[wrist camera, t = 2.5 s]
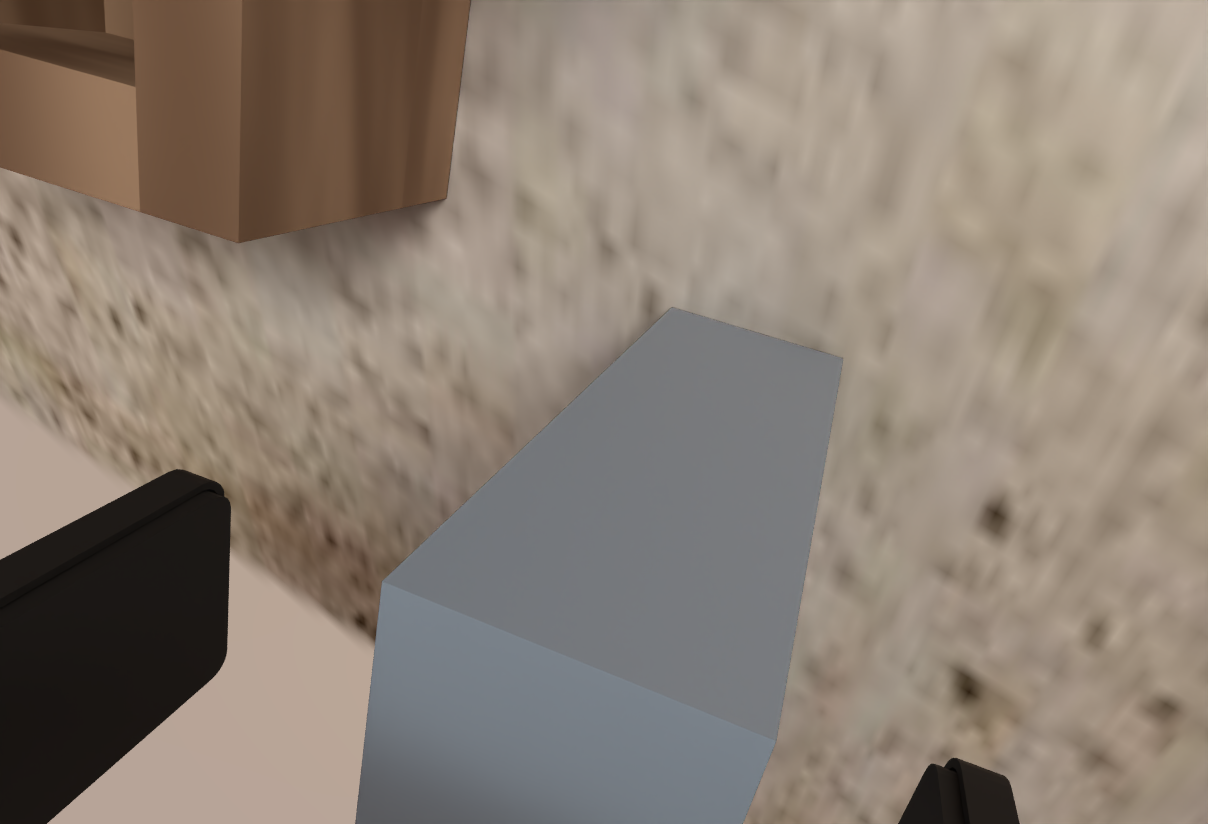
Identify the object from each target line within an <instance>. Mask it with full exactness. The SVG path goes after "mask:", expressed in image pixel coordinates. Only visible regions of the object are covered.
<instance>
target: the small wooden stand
mask: <svg viewBox="0 0 1208 824" xmlns="http://www.w3.org/2000/svg"><path fill="white" fill-rule="evenodd" d="M469 8H470V0H0V167H1V168H4V169H7V170H10V171H13V172H17V173H20V174H23V175H26V176H29V177H32V178H35V179H39V180H42V181H45V182H48V183H51V184H54V185H57V186H61V187H64V188H67V189H70V190H73V191H76V192H79V193H83V194H86V195H89V196H92V197H95V198H98V199H101V200H105V201H108V202H111V203H114V204H117V205H120V206H123V207H127V208H130V209H133V210H136V211H139V212H142V213H145V214H149V215H152V216H155V217H158V218H161V219H164V220H167V221H171V222H174V223H177V224H180V225H183V226H186V227H189V228H193V229H196V230H199V231H202V232H205V233H208V234H211V235H215V236H218V237H221V238H224V239H227V240H230V241H233V242H237V243H241V242H246V241H250V240H255V239H260V238H264V237H269V236H274V235H278V234H283V233H288V232H292V231H297V230H302V229H306V228H311V227H316V226H320V225H325V224H330V223H334V222H339V221H344V220H348V219H353V218H357V217H362V216H367V215H371V214H376V213H381V212H385V211H390V210H395V209H399V208H404V207H409V206H413V205H418V204H423V203H427V202H432V201H437V200H441V199H446V197H447V189H448V180H449V172H450V164H451V156H452V148H453V140H454V131H455V123H456V115H457V107H458V99H459V90H460V82H461V74H462V66H463V58H464V49H465V41H466V33H467V25H468V17H469Z"/></svg>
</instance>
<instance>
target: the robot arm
mask: <svg viewBox="0 0 1208 824" xmlns="http://www.w3.org/2000/svg"><path fill="white" fill-rule="evenodd" d="M230 522H231V506H230V502H229V500H228V499H227V498H225V497H224V490H223V488H222V486H221V485H220V484H218V483H217V482H215V481H212V480H209V479H207V478H204V477H201V476H199V475H196V474H193V473H191V472H188V471H185V470H179V469H176V470H173V471H170V472H168V473H166V474H164V475H162V476H160V477H158V478H156V479H154V480H152V481H151V482H149V483H147V484H145V485H143V486H141V487H139V488H137V489H135V490H133V491H131V492H129V493H128V494H126V495H124V496H122V497H120V498H118V499H116V500H115V501H112V502H111V503H108V504H106V505H105V506H103V507H101V508H99V509H97V510H95V511H93V512H91V513H89V514H87V515H85V516H83V517H82V518H80V519H78V520H76V521H74V522H72V523H70V524H68V525H66V526H64V527H62V528H60V529H59V530H57V531H55V532H53V533H51V534H49V535H47V536H45V537H43V538H41V539H39V540H37V541H35V542H34V543H32V544H30V545H28V546H26V547H24V548H22V549H20V550H18V551H16V552H14V553H12V554H11V555H9V556H7V557H5V558H3V559H1V560H0V824H47V823H48V822H49V821H50V820H51V819H52V818H54V817H55V816H56V815H57V814H58V813H59V812H60V811H62V809H64V808H65V807H66V806H67V805H69V804H70V803H71V802H72V801H73V800H74V799H75V798H76V797H78V796H79V795H80V794H81V793H82V792H83V791H84V790H86V789H87V788H88V787H89V786H90V785H91V784H92V783H94V782H95V781H96V780H97V779H98V778H99V777H100V776H102V775H103V774H104V773H105V772H106V771H107V770H108V769H109V768H111V767H112V766H113V765H114V764H115V763H116V762H118V761H119V760H120V759H121V758H122V757H123V756H124V755H125V754H127V753H128V752H129V751H130V750H131V749H132V748H134V747H135V746H136V745H137V744H138V743H139V742H140V741H142V740H143V739H144V738H145V737H146V736H147V735H148V734H150V733H151V732H152V731H153V730H154V729H155V728H156V727H157V726H159V725H160V724H161V723H162V722H163V721H164V720H166V719H167V718H168V717H169V716H170V715H171V714H172V713H174V712H175V711H176V710H177V709H178V708H179V707H180V706H181V705H183V704H184V703H185V702H186V701H187V700H188V699H189V698H191V697H192V696H193V695H194V694H195V693H196V692H198V690H200V689H201V688H202V687H203V686H204V685H205V684H207V683H208V682H209V681H210V680H211V679H212V678H213V677H214V676H215V675H216V674H217V673H218V671H219V670H220V668H221V667H222V665H223V663H224V660H225V657H226V654H227V636H228V635H227V634H228V598H229V597H228V596H229V560H230V559H229V558H230ZM898 824H1020V823H1019V819H1018V815H1017V810H1016V806H1015V801H1014V797H1013V793H1012V788H1011V785H1010V783H1009V780H1008V779H1007V778H1006V777H1005V776H1003V775H1000V774H998V773H995V772H992V771H990V770H987V769H984V768H982V767H979V766H976V765H974V764H971V763H968V762H966V761H963V760H960V759H958V758H952V759H950V760H949V761H948V762H947V764H946V765H945V767H941V766H939V765H936V764H930V765H929V766H928V768H927V769H926V771H925V772H924V774H923V776H922V778H921V780H920V782H919V784H918V786H917V788H916V790H915V792H914V794H913V796H912V798H911V800H910V802H909V804H908V806H907V808H906V810H905V811H904V813H903V815H902V817H901V819H900V821H899V823H898Z"/></svg>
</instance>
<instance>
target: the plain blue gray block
mask: <svg viewBox="0 0 1208 824" xmlns="http://www.w3.org/2000/svg"><path fill="white" fill-rule="evenodd" d="M842 363H843V358H841V357H837V356H834V355H830V354H827V353H824V352H820V351H817V350H814V349H810V348H807V347H804V346H800V345H797V344H794V343H790V342H787V341H783V340H780V339H777V338H773V337H770V336H767V335H763V334H760V333H757V332H753V331H750V330H747V329H743V328H740V327H736V326H733V325H730V324H726V323H723V322H720V321H716V320H713V319H710V318H706V317H703V316H700V315H696V314H693V313H689V312H686V311H683V310H679V309H676V308H673V307H672V308H671V309H670V310H669V311H667V312H666V313H665V314H664V315H663V316H662V317H661V318H660V319H659V320H658V321H657V322H656V323H655V324H654V325H653V326H652V327H651V328H649V329H648V330H647V331H646V332H645V333H644V334H643V335H642V336H641V337H640V338H639V339H638V340H637V341H636V342H635V343H634V344H633V345H631V346H630V347H629V348H628V349H627V350H626V351H625V352H624V353H623V354H622V355H621V356H620V357H619V358H618V359H617V360H616V361H615V362H614V363H612V364H611V365H610V366H609V367H608V368H607V369H606V370H605V371H604V372H603V373H602V374H601V375H600V376H599V377H598V378H597V379H596V380H594V381H593V382H592V383H591V384H590V385H589V386H588V387H587V388H586V389H585V390H584V391H583V392H582V393H581V394H580V395H579V396H578V397H576V398H575V399H574V400H573V401H572V402H571V403H570V404H569V405H568V406H567V407H566V408H565V409H564V410H563V411H562V412H561V413H560V414H559V415H557V416H556V417H555V418H554V419H553V420H552V421H551V422H550V423H549V424H548V425H547V426H546V427H545V428H544V429H543V430H542V431H541V432H539V433H538V434H537V435H536V436H535V437H534V438H533V439H532V440H531V441H530V442H529V443H528V444H527V445H526V446H525V447H524V448H523V449H521V450H520V451H519V452H518V453H517V454H516V455H515V456H514V457H513V458H512V459H511V460H510V461H509V462H508V463H507V464H506V465H505V466H504V467H502V468H501V469H500V470H499V471H498V472H497V473H496V474H495V475H494V476H493V477H492V478H491V479H490V480H489V481H488V482H487V483H486V484H484V485H483V486H482V487H481V488H480V489H479V490H478V491H477V492H476V493H475V494H474V495H473V496H472V497H471V498H470V499H469V500H468V501H466V502H465V503H464V504H463V505H462V506H461V507H460V508H459V509H458V510H457V511H456V512H455V513H454V514H453V515H452V516H451V517H450V518H449V519H447V520H446V521H445V522H444V523H443V524H442V525H441V526H440V527H439V528H438V529H437V530H436V531H435V532H434V533H433V534H432V535H431V536H429V537H428V538H427V539H426V540H425V541H424V542H423V543H422V544H421V545H420V546H419V547H418V548H417V549H416V550H415V551H414V552H413V553H411V554H410V555H409V556H408V557H407V558H406V559H405V560H404V561H403V562H402V563H401V564H400V565H399V566H398V567H397V568H396V569H395V570H393V571H392V572H391V573H390V574H389V575H388V576H387V577H386V578H385V579H384V580H383V581H382V587H381V596H380V605H379V614H378V623H377V632H376V641H375V650H374V659H373V668H372V677H371V686H370V696H369V704H368V714H367V723H366V732H365V740H364V741H365V742H364V749H363V759H362V768H361V777H360V786H359V795H358V804H357V813H356V823H355V824H743V822H744V820H745V817H746V815H747V812H748V810H749V807H750V805H751V802H752V800H753V797H754V795H755V793H756V790H757V788H758V785H759V783H760V780H761V778H762V775H763V773H764V770H765V768H766V765H767V763H768V760H769V758H770V755H771V753H772V751H773V748H774V746H775V743H776V740H777V734H778V729H779V723H780V717H781V711H782V706H783V700H784V694H785V689H786V683H787V677H788V671H789V666H790V660H791V654H792V649H793V643H794V637H795V632H796V626H797V620H798V614H799V609H800V603H801V597H802V592H803V586H804V580H805V574H806V569H807V563H808V557H809V552H810V546H811V540H812V535H813V529H814V523H815V517H816V512H817V506H818V500H819V495H820V489H821V483H822V477H823V472H824V466H825V460H826V455H827V449H828V443H829V438H830V432H831V426H832V420H833V415H834V409H835V403H836V398H837V392H838V386H839V380H840V375H841V369H842Z"/></svg>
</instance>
